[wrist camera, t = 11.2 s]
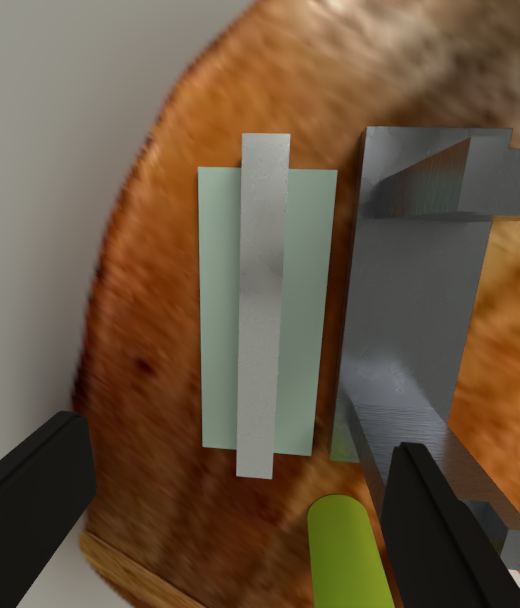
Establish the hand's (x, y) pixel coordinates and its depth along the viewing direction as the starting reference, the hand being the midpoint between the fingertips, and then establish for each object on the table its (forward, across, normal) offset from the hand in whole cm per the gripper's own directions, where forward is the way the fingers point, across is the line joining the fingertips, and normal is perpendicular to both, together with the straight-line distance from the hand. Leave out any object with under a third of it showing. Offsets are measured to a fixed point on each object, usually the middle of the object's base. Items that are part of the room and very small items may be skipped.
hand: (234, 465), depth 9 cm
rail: (+16, 0, +1) cm, 16 cm away
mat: (+16, +1, +1) cm, 16 cm away
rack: (+16, -10, 0) cm, 19 cm away
